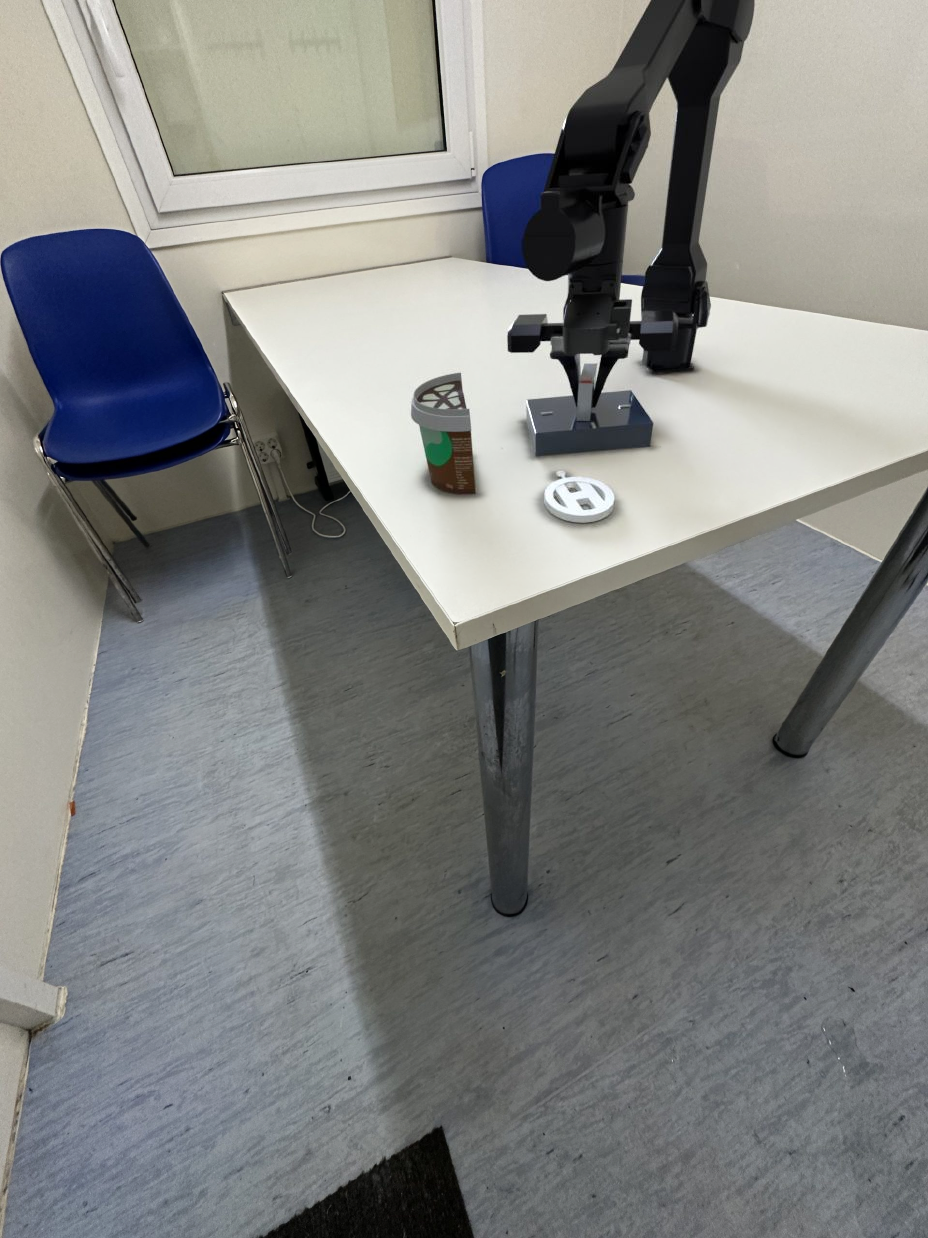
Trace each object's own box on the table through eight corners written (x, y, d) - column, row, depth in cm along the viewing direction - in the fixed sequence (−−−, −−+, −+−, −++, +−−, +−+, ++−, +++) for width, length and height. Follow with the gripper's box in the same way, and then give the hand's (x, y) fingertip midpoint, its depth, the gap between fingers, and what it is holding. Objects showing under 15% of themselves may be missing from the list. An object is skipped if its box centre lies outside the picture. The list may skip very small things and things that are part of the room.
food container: (420, 458, 69) (407, 376, 63) (467, 452, 69) (460, 370, 63) (422, 506, 60) (408, 417, 54) (477, 500, 60) (469, 410, 54)
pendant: (559, 527, 54) (559, 521, 54) (527, 478, 63) (527, 472, 62) (626, 515, 55) (627, 508, 55) (586, 468, 63) (586, 461, 63)
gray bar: (582, 399, 71) (584, 361, 68) (594, 399, 71) (597, 361, 68) (576, 420, 66) (578, 380, 63) (589, 421, 66) (592, 380, 63)
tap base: (628, 411, 75) (631, 388, 72) (650, 446, 66) (654, 421, 64) (526, 421, 75) (526, 397, 73) (535, 457, 67) (535, 432, 65)
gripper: (494, 280, 55) (500, 431, 65) (691, 272, 50) (664, 435, 61) (514, 259, 62) (517, 396, 73) (687, 249, 58) (663, 397, 68)
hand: (586, 406), depth 68 cm, fingers closed on gray bar, 2 cm apart
